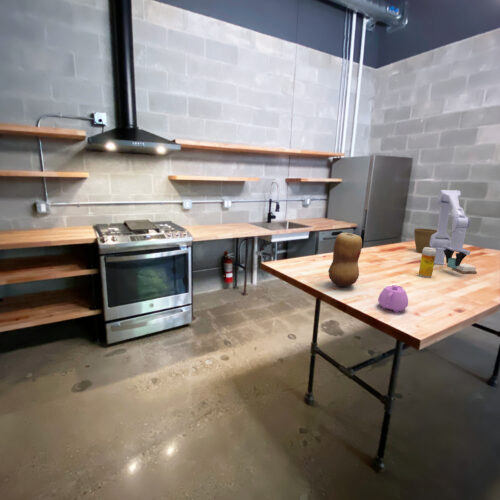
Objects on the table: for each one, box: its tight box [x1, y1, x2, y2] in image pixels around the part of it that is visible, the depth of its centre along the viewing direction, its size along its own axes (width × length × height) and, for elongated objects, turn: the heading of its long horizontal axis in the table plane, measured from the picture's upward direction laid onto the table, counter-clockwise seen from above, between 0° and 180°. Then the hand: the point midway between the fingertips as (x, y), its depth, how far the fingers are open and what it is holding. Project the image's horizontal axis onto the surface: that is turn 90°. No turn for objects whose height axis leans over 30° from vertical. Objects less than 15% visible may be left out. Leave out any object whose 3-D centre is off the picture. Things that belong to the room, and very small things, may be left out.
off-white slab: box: [457, 263, 477, 271], centre depth 165 cm, size 7×7×2 cm
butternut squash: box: [327, 232, 363, 288], centre depth 137 cm, size 14×13×25 cm
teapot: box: [377, 284, 409, 314], centre depth 116 cm, size 10×15×9 cm
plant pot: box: [413, 228, 438, 254], centre depth 207 cm, size 15×15×16 cm
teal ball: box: [446, 257, 458, 269], centre depth 160 cm, size 5×5×5 cm
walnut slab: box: [451, 268, 478, 275], centre depth 166 cm, size 8×8×2 cm
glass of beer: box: [418, 247, 436, 278], centre depth 155 cm, size 6×6×15 cm
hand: (452, 264), depth 161 cm, fingers closed on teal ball, 5 cm apart
